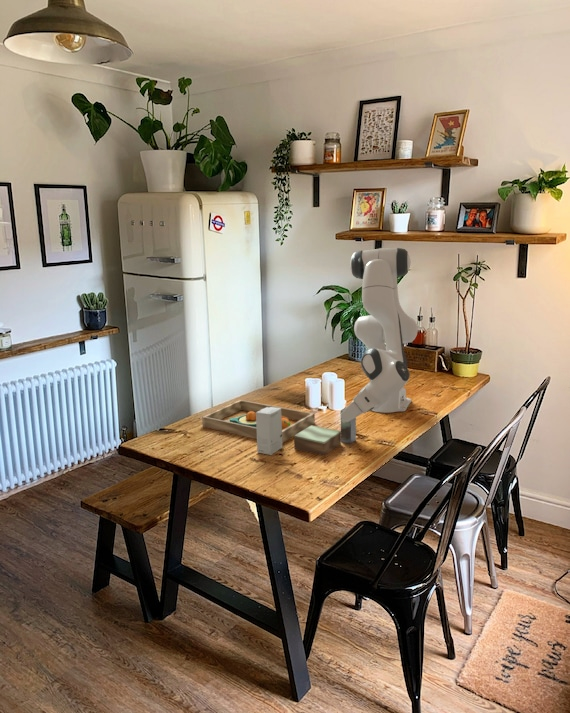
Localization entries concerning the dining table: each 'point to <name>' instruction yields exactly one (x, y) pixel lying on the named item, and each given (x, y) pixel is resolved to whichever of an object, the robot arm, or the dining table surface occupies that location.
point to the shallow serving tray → (216, 423)
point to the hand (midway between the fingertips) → (346, 418)
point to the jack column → (348, 430)
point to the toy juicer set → (251, 420)
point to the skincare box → (269, 430)
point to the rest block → (317, 440)
